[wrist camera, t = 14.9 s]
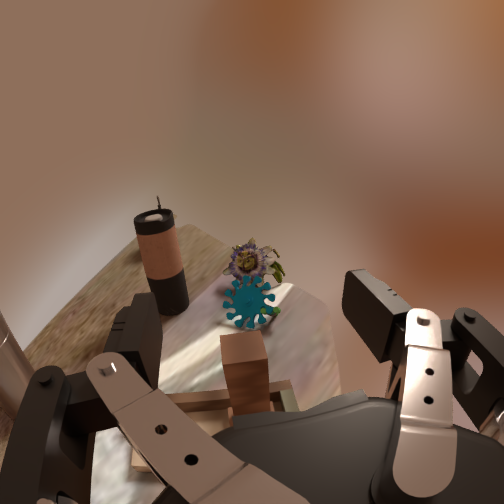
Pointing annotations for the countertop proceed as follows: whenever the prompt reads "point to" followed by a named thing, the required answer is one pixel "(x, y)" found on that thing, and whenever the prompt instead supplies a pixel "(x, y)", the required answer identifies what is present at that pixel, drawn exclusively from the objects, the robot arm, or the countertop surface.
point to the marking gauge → (246, 373)
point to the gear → (250, 302)
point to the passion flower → (253, 263)
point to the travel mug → (162, 260)
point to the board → (220, 410)
